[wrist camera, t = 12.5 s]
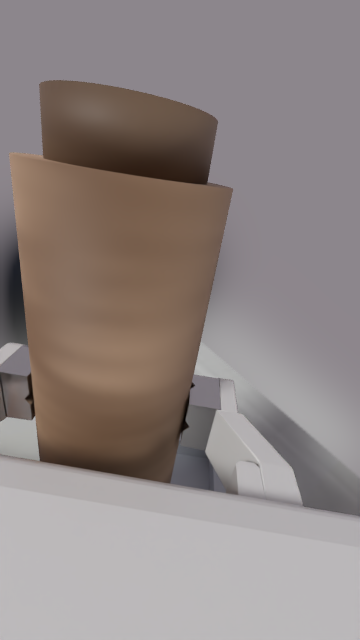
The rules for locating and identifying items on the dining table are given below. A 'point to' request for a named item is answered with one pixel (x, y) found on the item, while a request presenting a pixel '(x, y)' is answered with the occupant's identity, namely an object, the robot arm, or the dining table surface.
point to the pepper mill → (116, 272)
